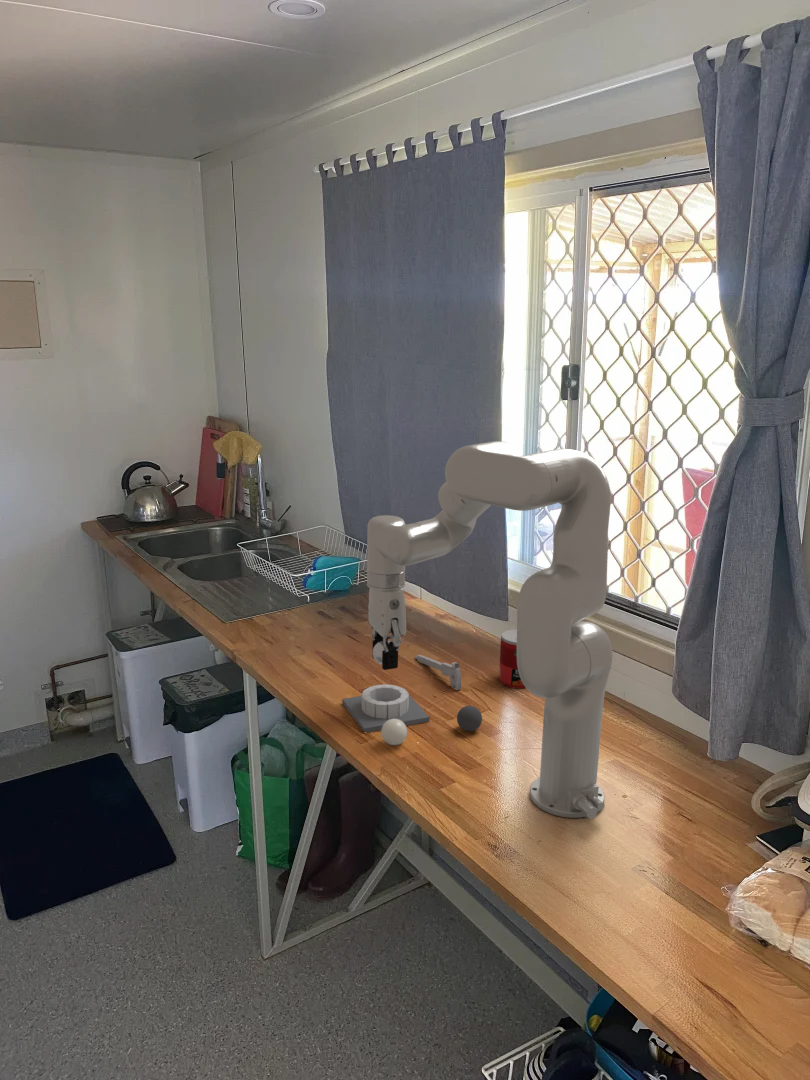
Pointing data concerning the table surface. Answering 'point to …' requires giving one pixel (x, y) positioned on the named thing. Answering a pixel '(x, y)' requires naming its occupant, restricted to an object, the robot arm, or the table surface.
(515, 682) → the canned food
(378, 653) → the steel ball
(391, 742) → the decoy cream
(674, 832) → the table surface
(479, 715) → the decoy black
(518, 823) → the table surface
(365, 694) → the housing
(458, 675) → the caliper
